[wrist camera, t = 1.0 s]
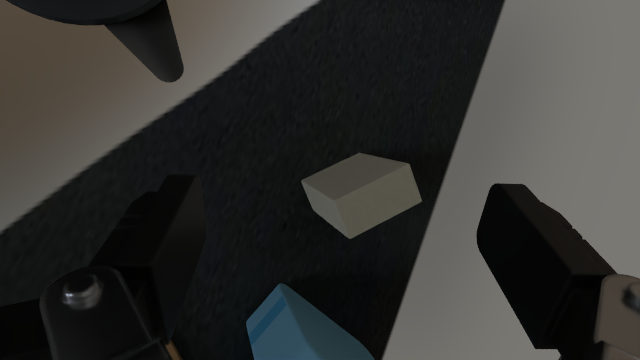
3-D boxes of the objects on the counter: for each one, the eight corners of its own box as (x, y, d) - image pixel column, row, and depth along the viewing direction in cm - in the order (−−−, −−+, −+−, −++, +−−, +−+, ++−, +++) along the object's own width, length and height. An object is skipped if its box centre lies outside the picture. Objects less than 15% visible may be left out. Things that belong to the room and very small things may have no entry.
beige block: (300, 180, 35) (333, 200, 26) (359, 152, 36) (409, 163, 28) (313, 210, 36) (349, 239, 27) (370, 182, 37) (422, 201, 28)
